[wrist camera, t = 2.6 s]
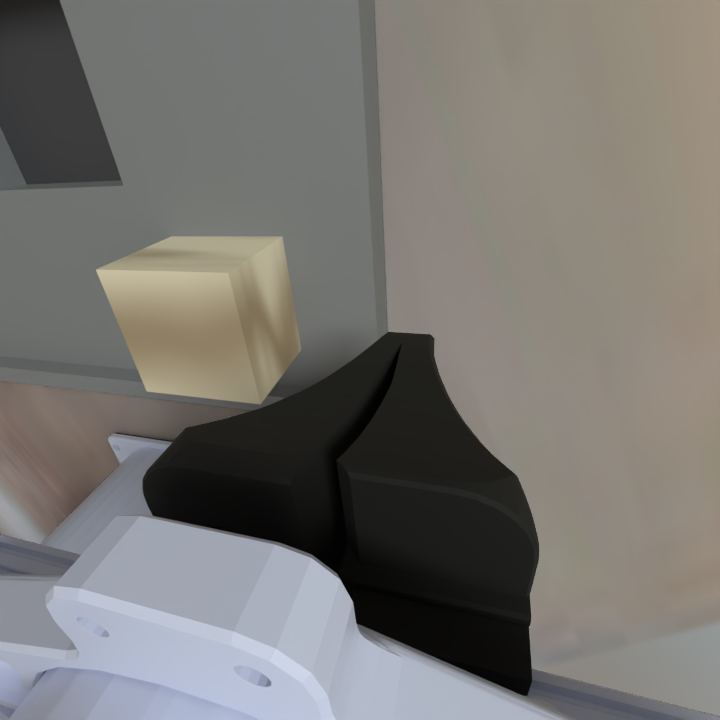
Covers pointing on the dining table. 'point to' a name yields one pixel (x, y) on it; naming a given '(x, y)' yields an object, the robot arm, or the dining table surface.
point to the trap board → (185, 170)
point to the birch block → (206, 315)
